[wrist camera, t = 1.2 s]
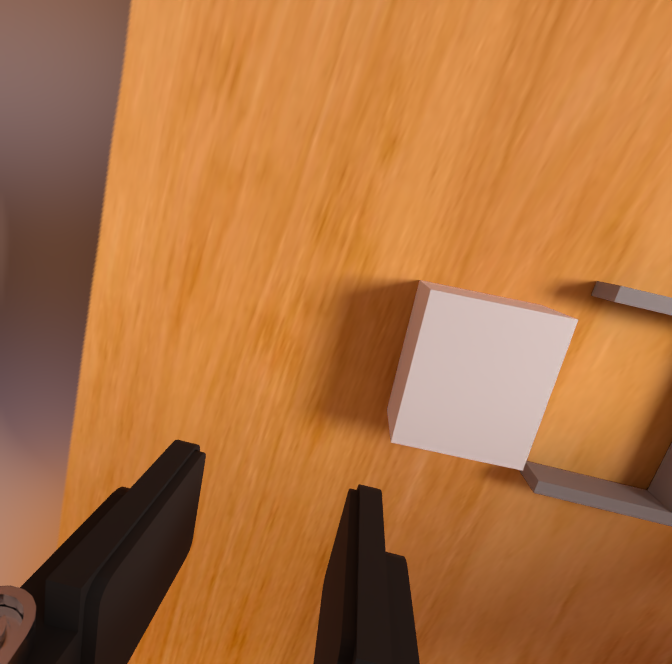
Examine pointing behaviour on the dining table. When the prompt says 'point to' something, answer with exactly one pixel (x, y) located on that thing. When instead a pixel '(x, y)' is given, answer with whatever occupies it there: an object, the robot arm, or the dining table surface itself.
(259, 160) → the dining table surface
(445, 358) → the carton
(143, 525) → the robot arm
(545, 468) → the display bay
